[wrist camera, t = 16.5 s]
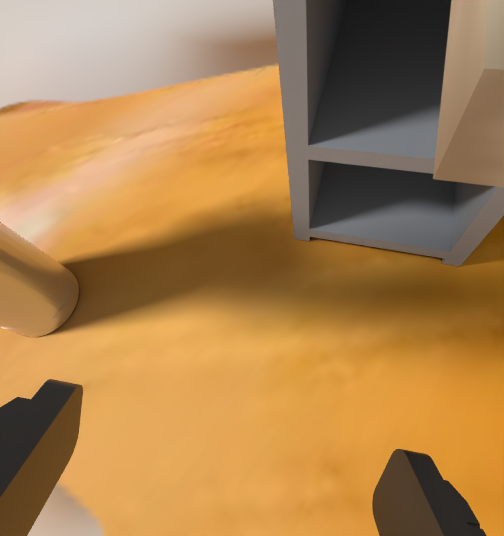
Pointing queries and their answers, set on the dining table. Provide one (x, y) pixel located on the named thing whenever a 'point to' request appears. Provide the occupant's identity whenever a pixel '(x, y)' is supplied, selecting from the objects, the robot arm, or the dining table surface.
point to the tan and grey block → (473, 96)
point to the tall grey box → (373, 128)
